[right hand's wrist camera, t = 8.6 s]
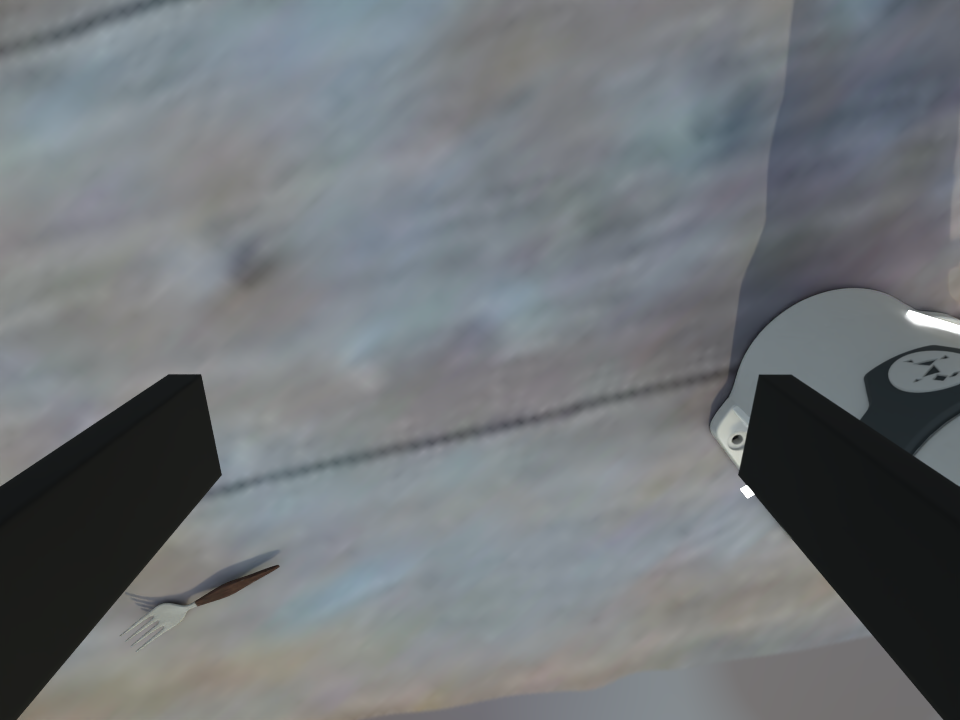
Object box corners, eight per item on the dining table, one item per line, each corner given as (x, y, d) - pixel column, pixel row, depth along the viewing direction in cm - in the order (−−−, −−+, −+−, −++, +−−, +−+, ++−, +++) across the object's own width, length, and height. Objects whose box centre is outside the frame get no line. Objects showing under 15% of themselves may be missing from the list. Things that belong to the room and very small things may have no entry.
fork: (289, 572, 46) (281, 589, 44) (150, 635, 48) (137, 654, 47) (272, 551, 45) (263, 567, 43) (131, 616, 48) (117, 635, 46)
